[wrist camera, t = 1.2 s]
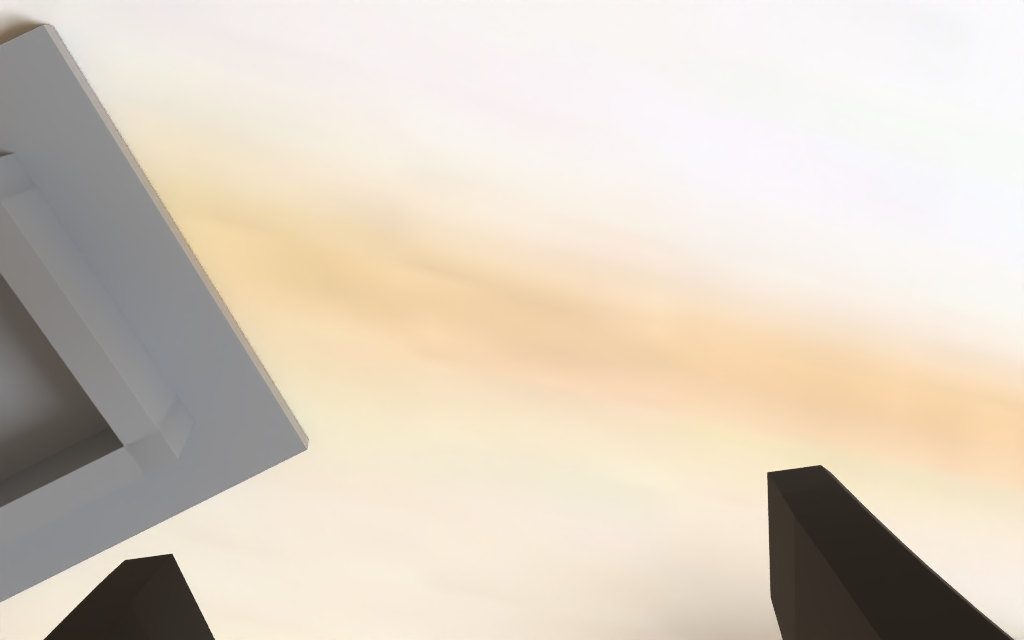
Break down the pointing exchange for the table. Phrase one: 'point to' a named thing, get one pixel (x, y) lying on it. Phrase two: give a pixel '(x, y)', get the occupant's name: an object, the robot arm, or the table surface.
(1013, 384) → the table surface
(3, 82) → the stand
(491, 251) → the table surface
